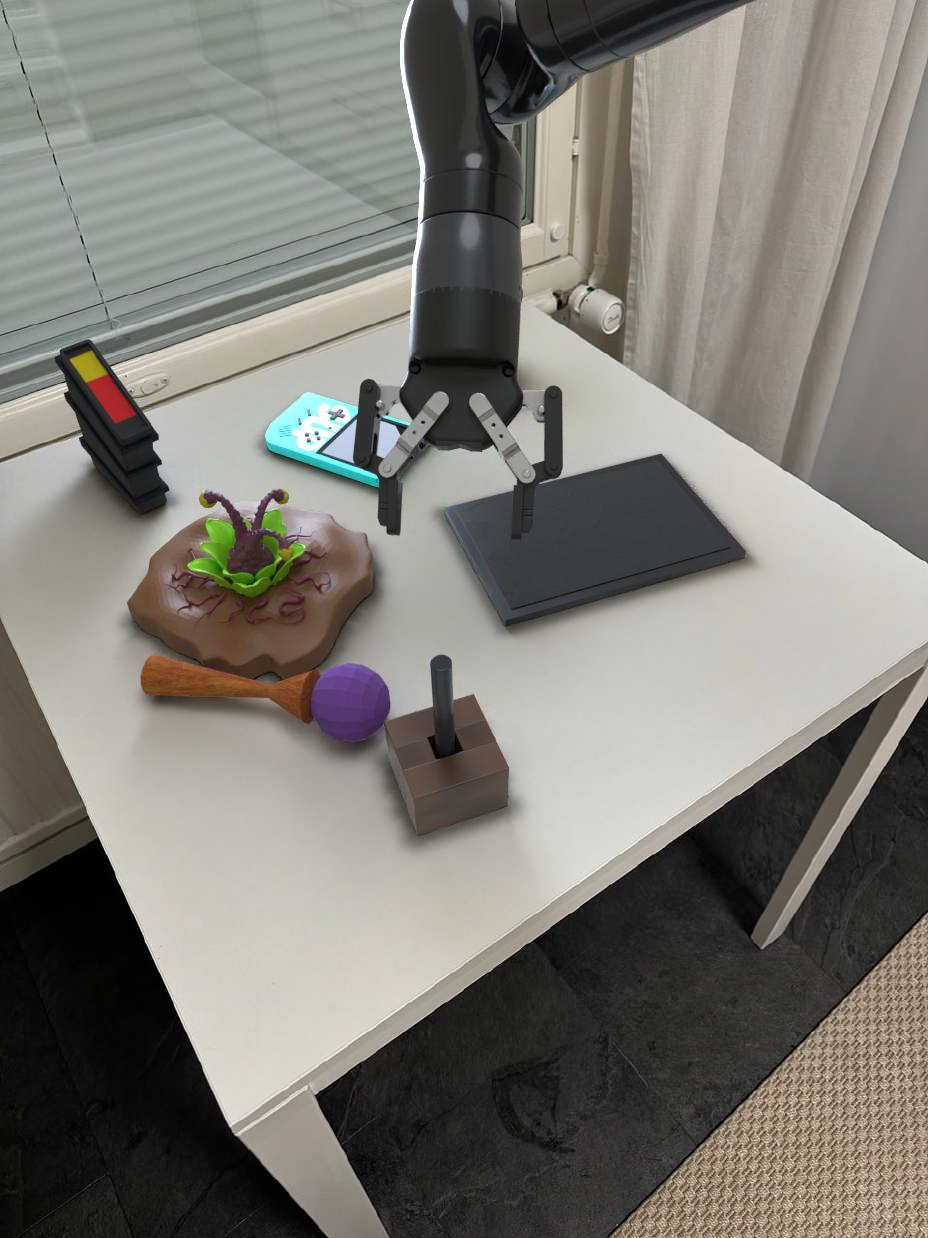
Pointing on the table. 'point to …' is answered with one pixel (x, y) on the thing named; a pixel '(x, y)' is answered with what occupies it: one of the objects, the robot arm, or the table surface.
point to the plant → (255, 586)
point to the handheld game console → (328, 436)
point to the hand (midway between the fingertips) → (454, 537)
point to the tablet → (591, 538)
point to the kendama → (286, 693)
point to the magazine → (112, 426)
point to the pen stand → (447, 767)
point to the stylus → (443, 705)
